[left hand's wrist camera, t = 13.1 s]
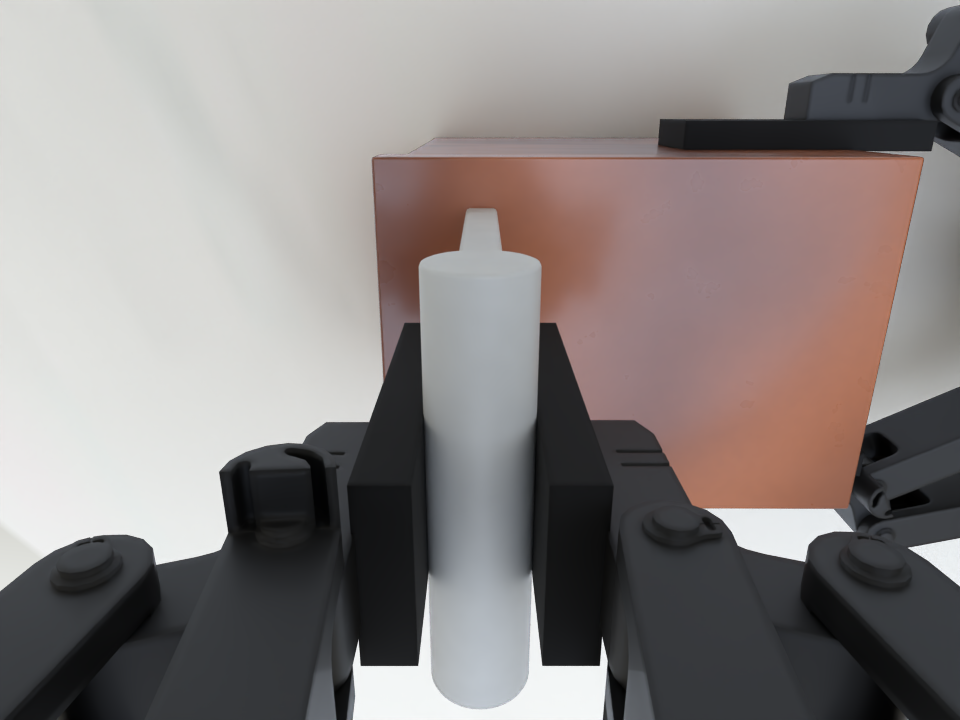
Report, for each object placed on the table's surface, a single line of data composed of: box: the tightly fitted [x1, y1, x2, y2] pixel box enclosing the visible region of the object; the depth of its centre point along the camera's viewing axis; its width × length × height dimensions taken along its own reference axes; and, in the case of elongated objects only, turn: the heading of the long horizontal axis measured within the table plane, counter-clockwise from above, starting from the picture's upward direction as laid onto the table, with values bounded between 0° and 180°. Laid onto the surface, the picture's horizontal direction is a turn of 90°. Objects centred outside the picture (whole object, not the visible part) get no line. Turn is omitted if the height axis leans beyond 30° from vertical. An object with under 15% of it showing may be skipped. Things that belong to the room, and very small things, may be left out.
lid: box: [372, 154, 924, 709], centre depth 14 cm, size 12×9×8 cm
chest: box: [409, 138, 887, 154], centre depth 22 cm, size 12×9×10 cm
